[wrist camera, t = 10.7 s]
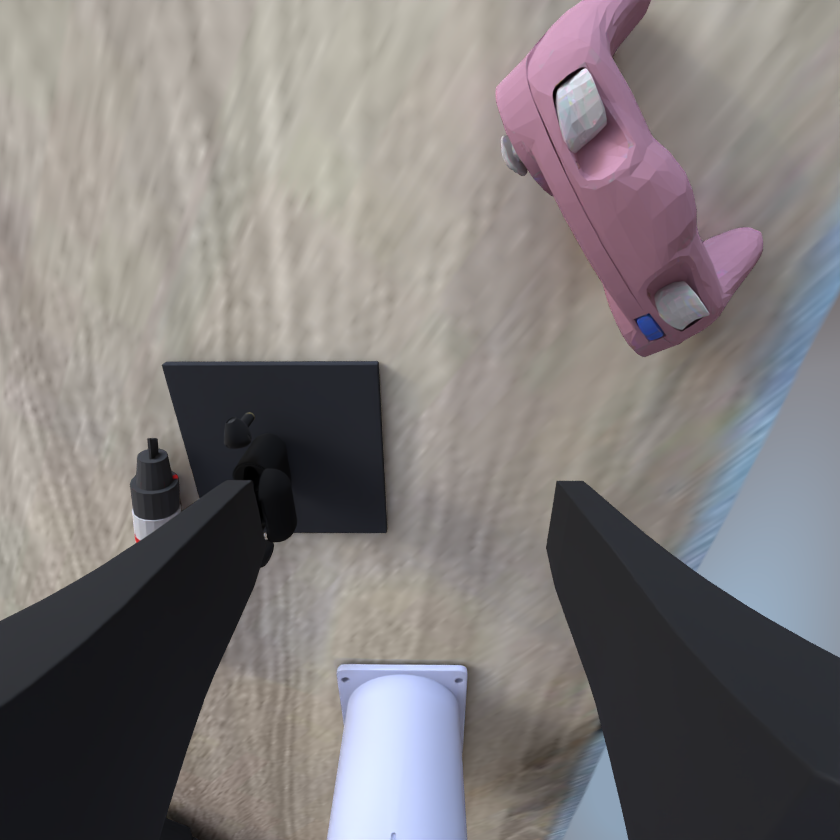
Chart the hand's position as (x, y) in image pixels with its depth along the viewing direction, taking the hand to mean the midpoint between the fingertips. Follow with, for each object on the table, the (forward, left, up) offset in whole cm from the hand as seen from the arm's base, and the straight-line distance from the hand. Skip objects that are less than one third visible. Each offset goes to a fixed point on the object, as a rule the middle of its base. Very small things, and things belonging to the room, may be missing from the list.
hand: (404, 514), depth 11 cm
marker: (-10, +13, -10) cm, 19 cm away
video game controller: (+7, -7, -10) cm, 14 cm away
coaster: (-4, +6, -9) cm, 12 cm away
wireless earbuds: (-4, +6, -9) cm, 12 cm away
